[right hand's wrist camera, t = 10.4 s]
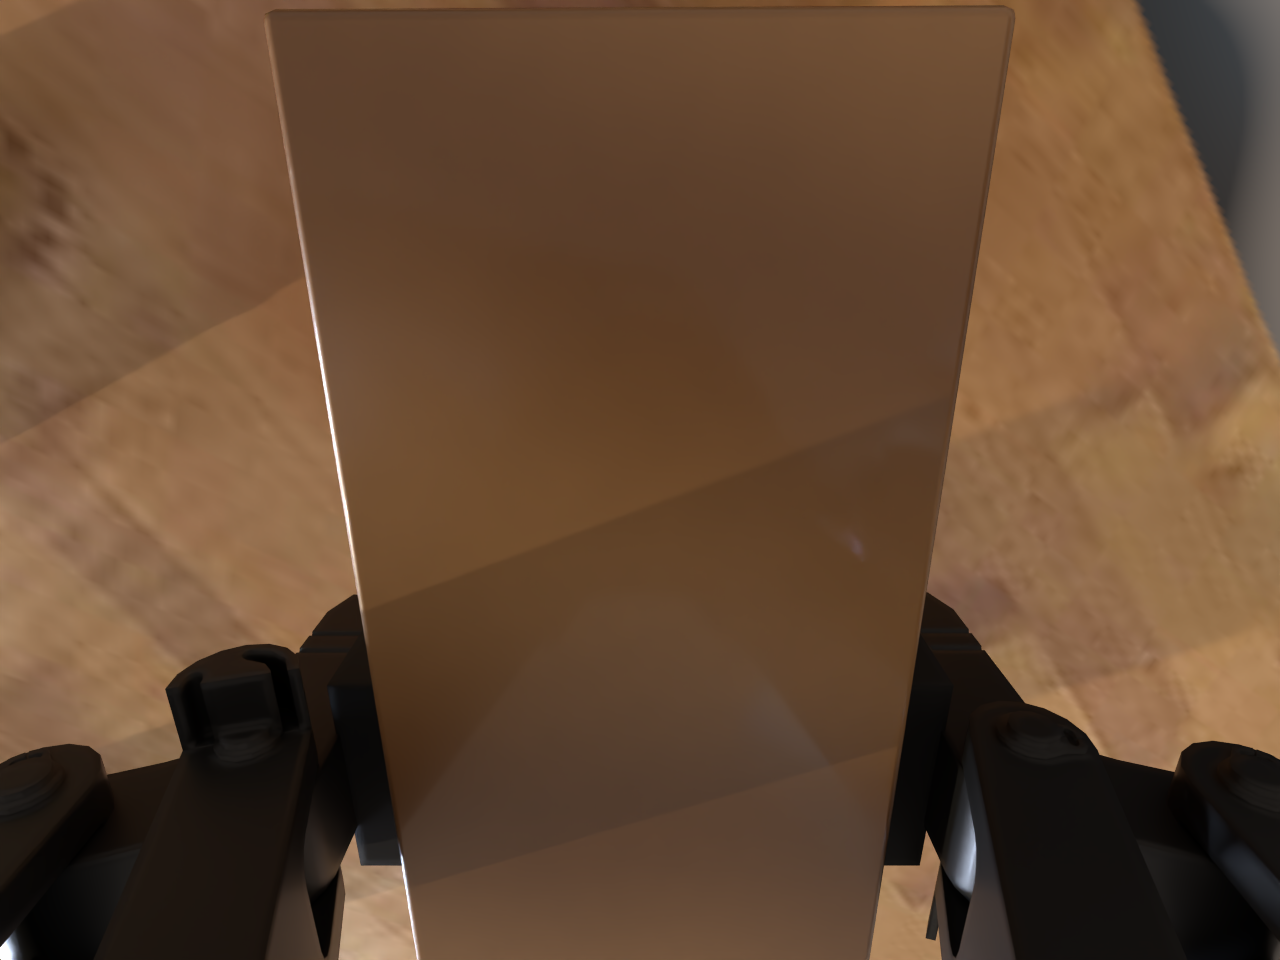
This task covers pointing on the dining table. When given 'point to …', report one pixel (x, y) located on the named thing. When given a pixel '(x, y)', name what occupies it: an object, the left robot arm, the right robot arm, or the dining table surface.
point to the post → (641, 443)
